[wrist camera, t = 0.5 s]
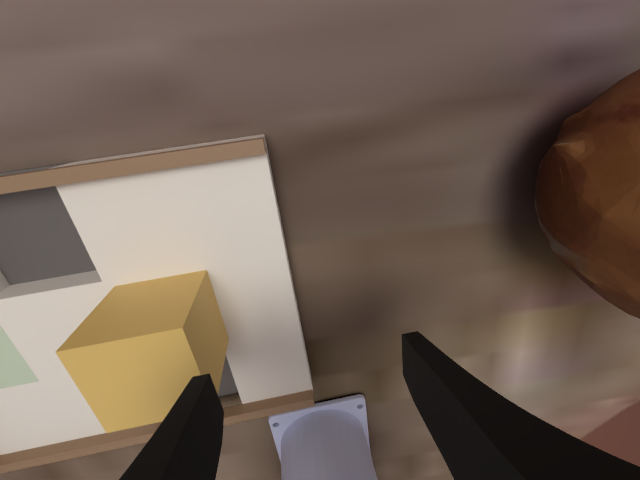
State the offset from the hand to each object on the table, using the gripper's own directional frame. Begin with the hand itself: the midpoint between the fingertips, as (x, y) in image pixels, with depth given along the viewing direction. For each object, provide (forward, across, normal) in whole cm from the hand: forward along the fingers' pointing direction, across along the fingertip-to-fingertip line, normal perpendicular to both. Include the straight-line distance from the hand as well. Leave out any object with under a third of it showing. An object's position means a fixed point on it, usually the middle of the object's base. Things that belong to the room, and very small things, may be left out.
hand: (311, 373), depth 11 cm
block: (+7, +7, +1) cm, 10 cm away
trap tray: (+9, +11, +1) cm, 15 cm away
